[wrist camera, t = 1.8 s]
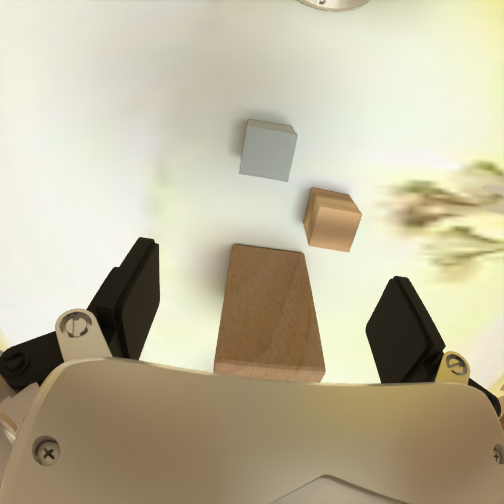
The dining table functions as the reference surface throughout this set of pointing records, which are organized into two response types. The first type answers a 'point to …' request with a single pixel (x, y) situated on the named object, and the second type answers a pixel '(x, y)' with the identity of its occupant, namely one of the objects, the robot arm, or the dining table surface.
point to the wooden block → (269, 318)
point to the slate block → (268, 150)
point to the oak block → (331, 220)
